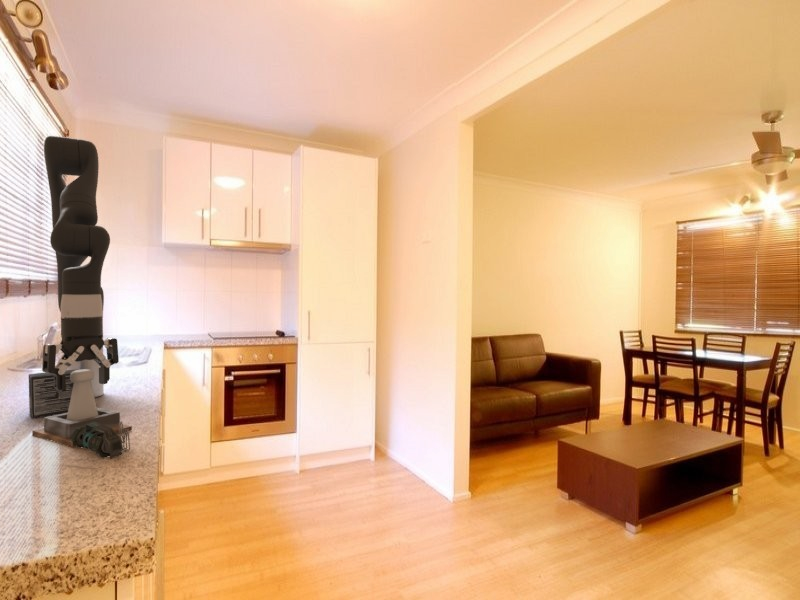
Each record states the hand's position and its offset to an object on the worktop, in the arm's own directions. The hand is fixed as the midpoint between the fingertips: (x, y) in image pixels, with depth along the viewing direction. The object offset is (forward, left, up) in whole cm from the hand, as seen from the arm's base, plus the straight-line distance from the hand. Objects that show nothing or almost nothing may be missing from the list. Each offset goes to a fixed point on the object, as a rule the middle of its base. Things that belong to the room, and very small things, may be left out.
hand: (82, 387), depth 98 cm
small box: (-24, +6, -10) cm, 27 cm away
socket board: (0, 0, -10) cm, 10 cm away
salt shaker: (0, 0, -9) cm, 9 cm away
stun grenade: (+15, -4, -11) cm, 19 cm away
